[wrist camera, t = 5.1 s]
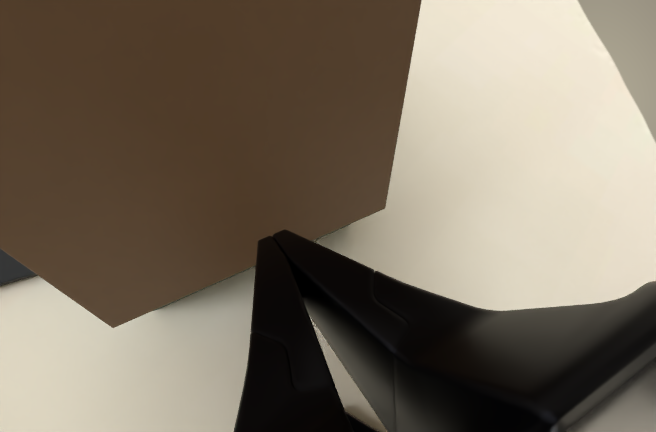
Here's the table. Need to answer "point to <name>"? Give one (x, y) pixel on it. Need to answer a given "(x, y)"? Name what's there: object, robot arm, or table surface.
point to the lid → (190, 135)
